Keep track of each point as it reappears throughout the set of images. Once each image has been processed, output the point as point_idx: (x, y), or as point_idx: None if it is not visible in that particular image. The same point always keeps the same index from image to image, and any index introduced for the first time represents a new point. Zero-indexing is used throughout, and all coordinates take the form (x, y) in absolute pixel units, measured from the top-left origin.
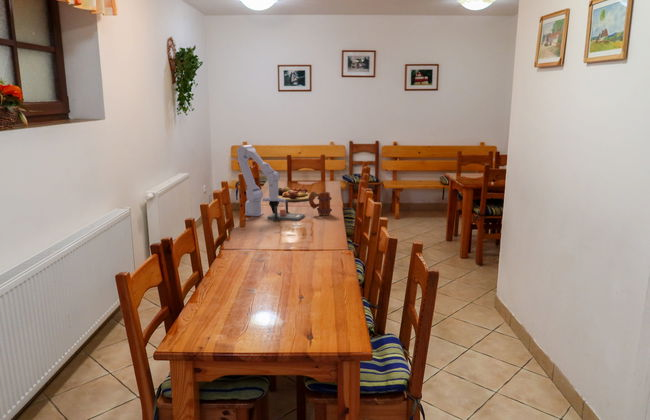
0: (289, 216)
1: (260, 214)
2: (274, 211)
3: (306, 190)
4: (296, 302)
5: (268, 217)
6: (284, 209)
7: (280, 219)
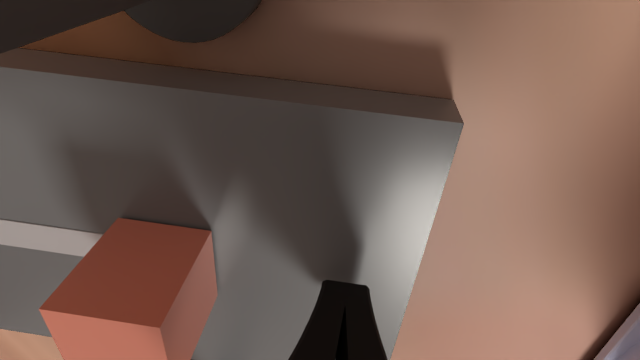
0: (1, 174)
1: (623, 341)
2: (320, 311)
3: None
4: None
5: (431, 109)
6: (79, 350)
7: (147, 65)
